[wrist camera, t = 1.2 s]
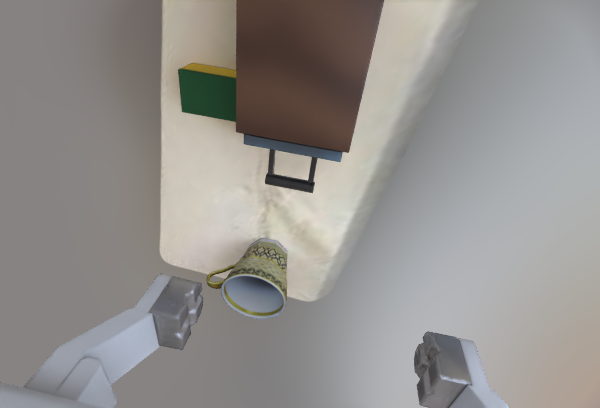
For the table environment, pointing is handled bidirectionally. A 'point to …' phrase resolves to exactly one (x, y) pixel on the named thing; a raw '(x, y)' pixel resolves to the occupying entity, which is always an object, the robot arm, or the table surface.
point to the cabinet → (303, 68)
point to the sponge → (208, 91)
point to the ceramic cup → (256, 281)
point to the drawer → (296, 149)
